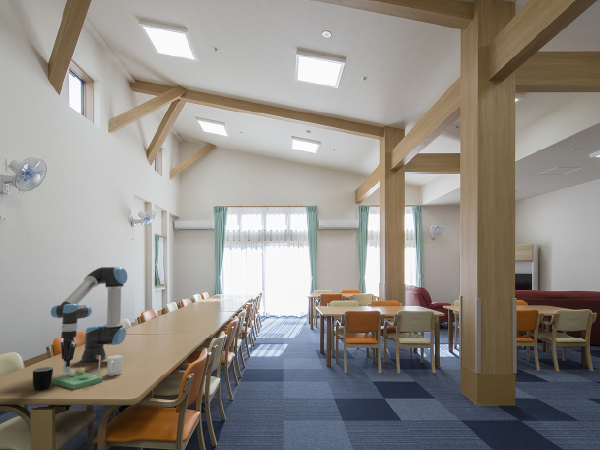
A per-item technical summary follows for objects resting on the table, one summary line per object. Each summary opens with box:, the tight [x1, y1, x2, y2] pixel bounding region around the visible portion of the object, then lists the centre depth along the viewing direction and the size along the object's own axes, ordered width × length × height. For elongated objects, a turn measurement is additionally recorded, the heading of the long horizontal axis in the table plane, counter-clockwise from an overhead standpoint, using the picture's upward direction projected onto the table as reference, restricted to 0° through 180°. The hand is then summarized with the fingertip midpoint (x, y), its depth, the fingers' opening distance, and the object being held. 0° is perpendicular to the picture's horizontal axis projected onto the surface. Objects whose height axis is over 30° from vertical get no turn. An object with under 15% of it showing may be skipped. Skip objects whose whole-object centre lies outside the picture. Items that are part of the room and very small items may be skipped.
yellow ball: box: [77, 367, 86, 374], centre depth 220 cm, size 3×3×3 cm
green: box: [51, 355, 104, 391], centre depth 212 cm, size 22×16×14 cm
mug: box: [32, 366, 54, 392], centre depth 200 cm, size 12×9×10 cm
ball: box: [67, 369, 76, 376], centre depth 215 cm, size 3×3×3 cm
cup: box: [106, 354, 124, 377], centre depth 227 cm, size 8×12×10 cm
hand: (66, 372), depth 218 cm, fingers closed
